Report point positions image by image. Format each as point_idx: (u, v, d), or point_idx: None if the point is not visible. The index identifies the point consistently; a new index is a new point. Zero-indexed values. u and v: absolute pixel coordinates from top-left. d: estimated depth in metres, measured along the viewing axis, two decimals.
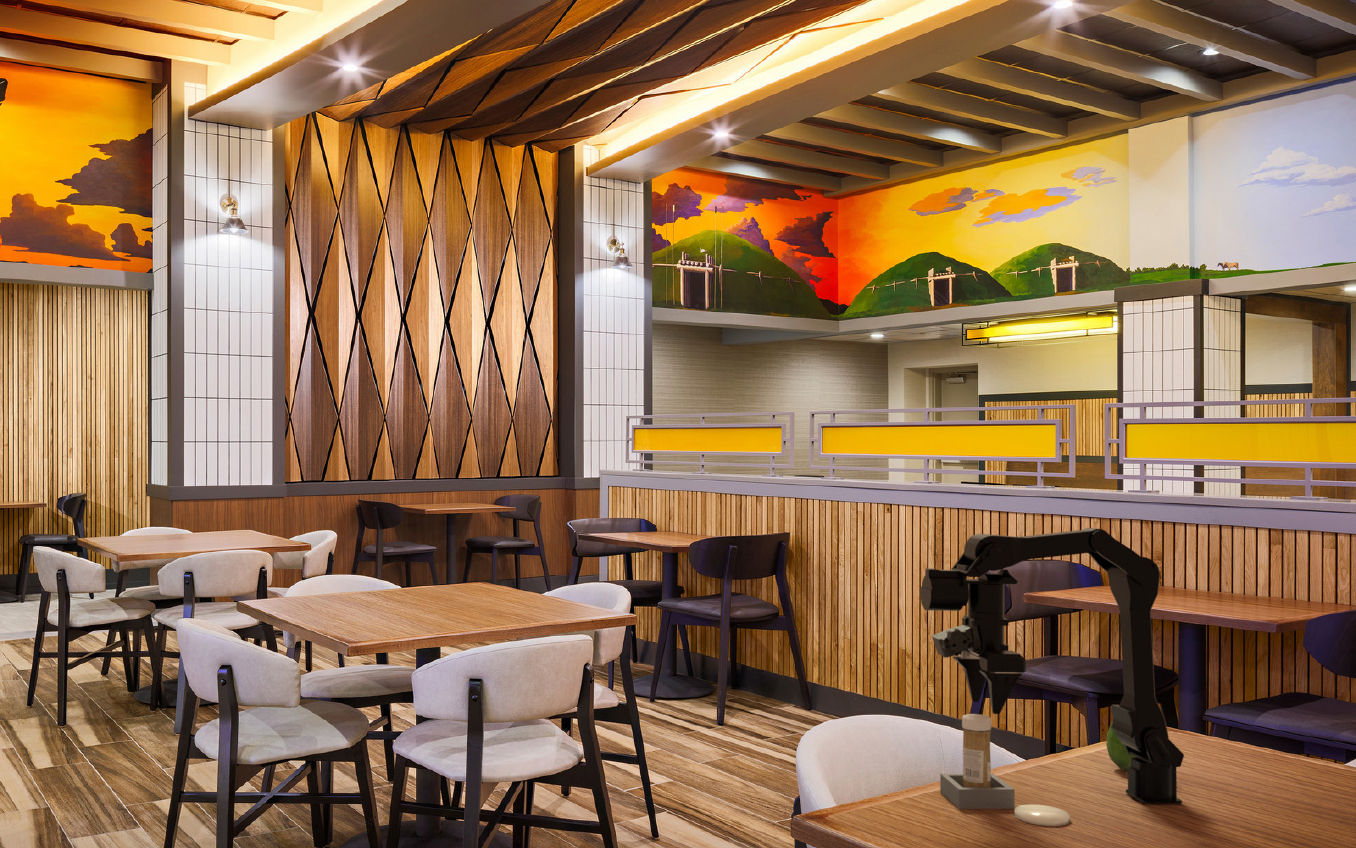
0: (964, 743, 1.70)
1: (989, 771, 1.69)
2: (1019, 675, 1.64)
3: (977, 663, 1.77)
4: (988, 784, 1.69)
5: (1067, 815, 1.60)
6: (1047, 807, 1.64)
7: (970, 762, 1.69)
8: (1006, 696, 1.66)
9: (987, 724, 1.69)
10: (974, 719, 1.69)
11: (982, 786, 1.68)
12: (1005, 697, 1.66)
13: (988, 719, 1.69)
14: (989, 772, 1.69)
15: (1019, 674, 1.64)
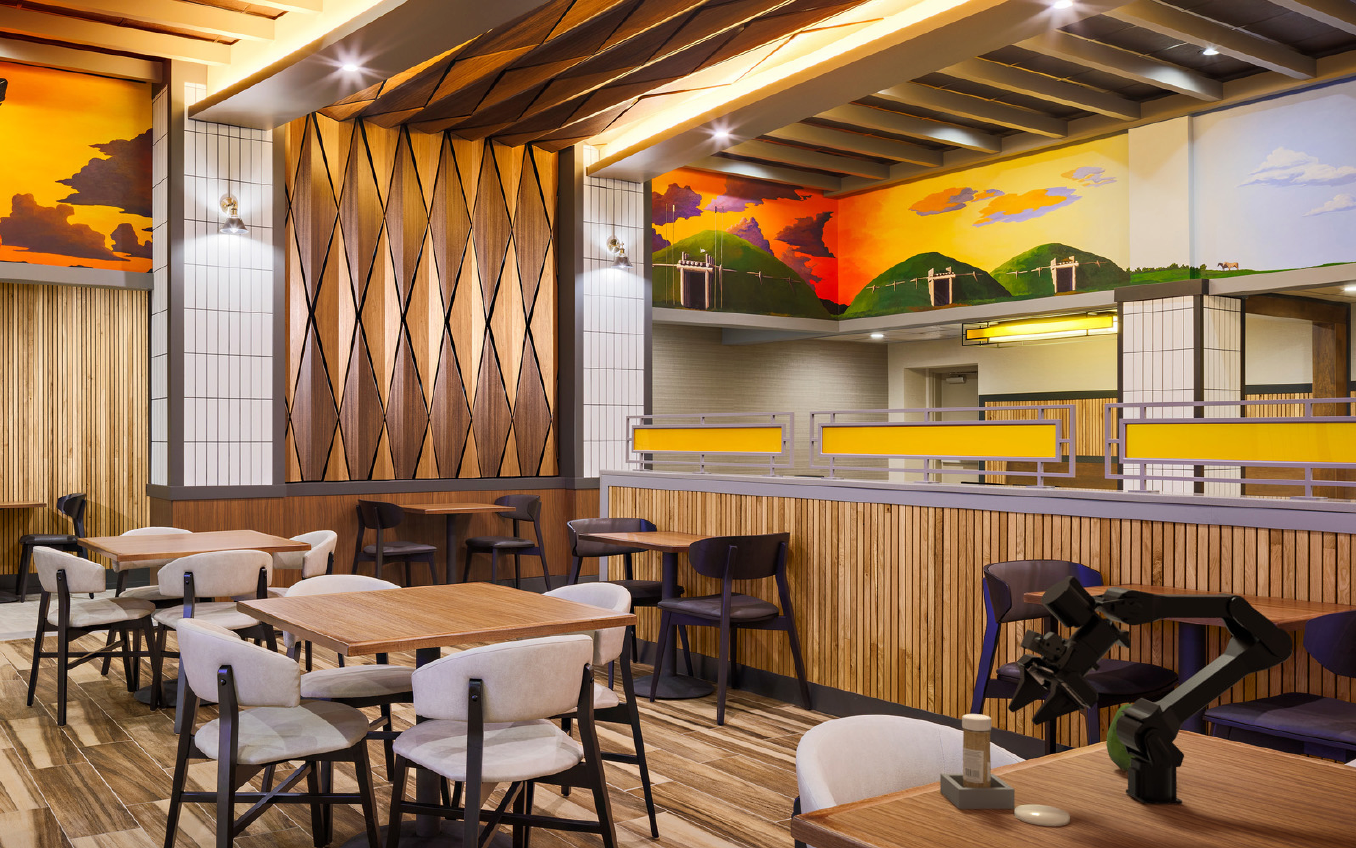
0: (964, 743, 1.70)
1: (989, 771, 1.69)
2: (1082, 707, 1.64)
3: (1036, 684, 1.77)
4: (988, 784, 1.69)
5: (1067, 815, 1.60)
6: (1047, 807, 1.64)
7: (970, 762, 1.69)
8: (1054, 716, 1.66)
9: (987, 724, 1.69)
10: (974, 719, 1.69)
11: (982, 786, 1.68)
12: (1053, 716, 1.66)
13: (988, 719, 1.69)
14: (989, 772, 1.69)
15: (1082, 707, 1.64)
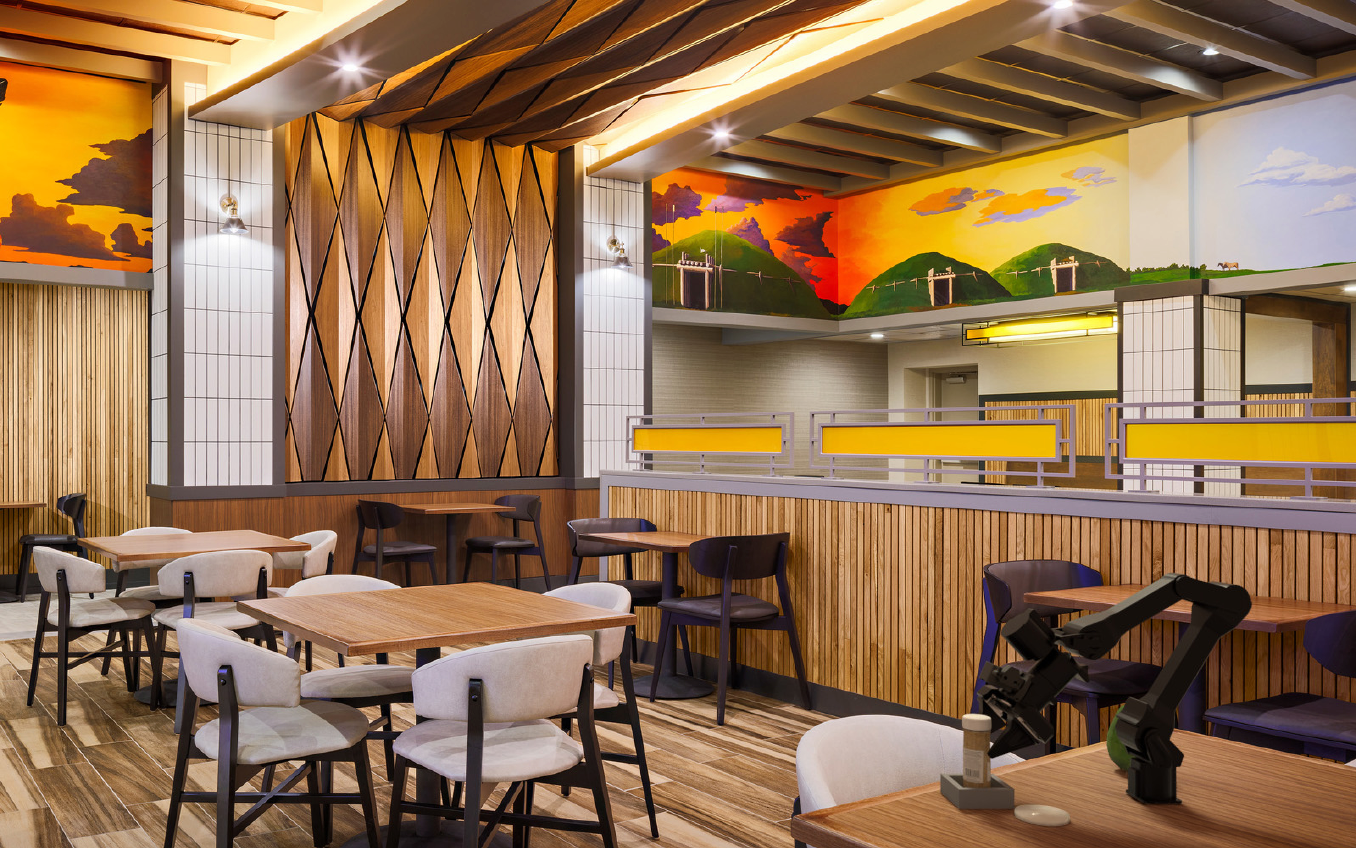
0: (964, 743, 1.70)
1: (989, 771, 1.69)
2: (1037, 742, 1.63)
3: (994, 716, 1.76)
4: (988, 784, 1.69)
5: (1067, 815, 1.60)
6: (1047, 807, 1.64)
7: (970, 762, 1.69)
8: (1009, 750, 1.65)
9: (987, 724, 1.69)
10: (974, 719, 1.69)
11: (982, 786, 1.68)
12: (1008, 750, 1.65)
13: (988, 719, 1.69)
14: (989, 772, 1.69)
15: (1038, 742, 1.63)
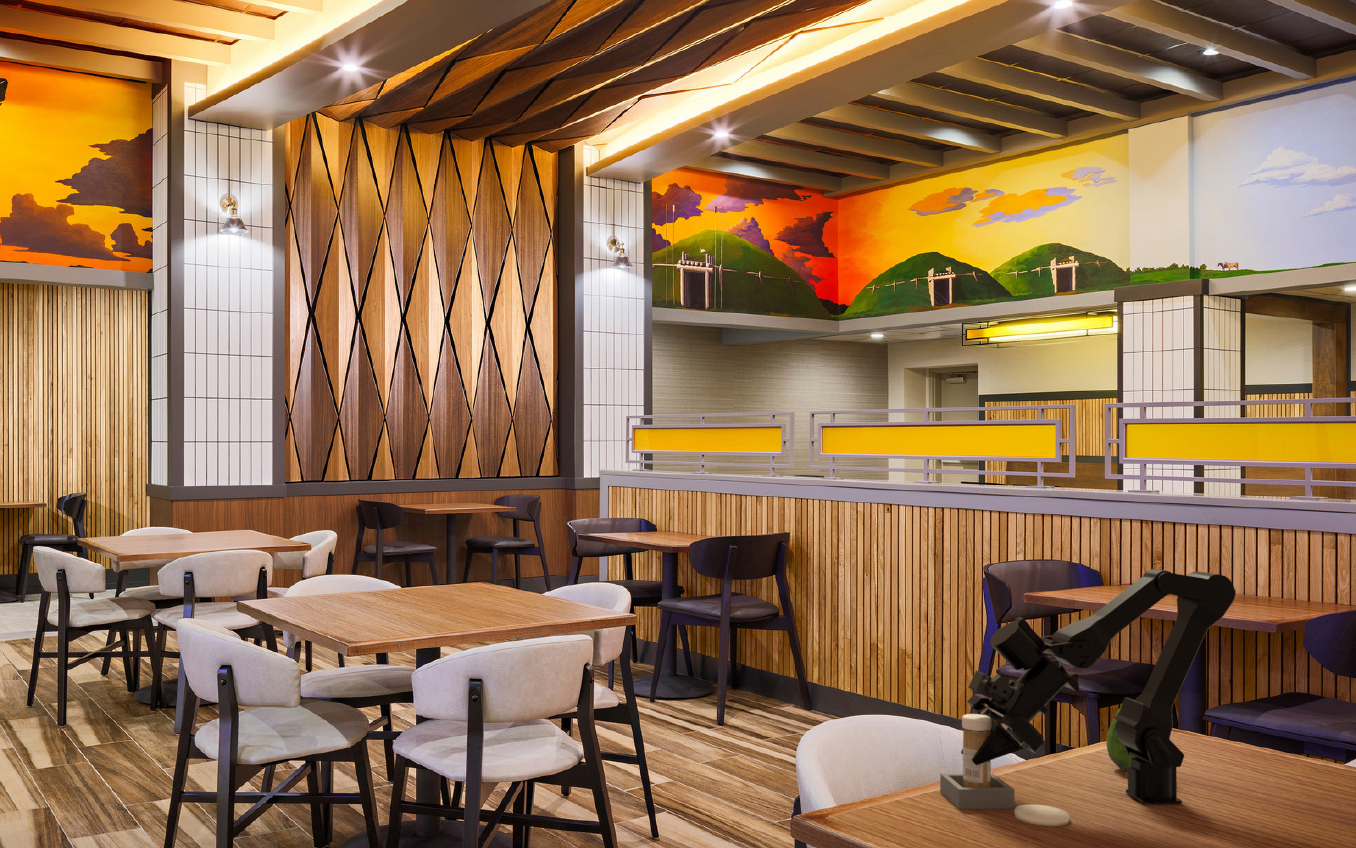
0: (964, 743, 1.70)
1: (989, 771, 1.69)
2: (1021, 748, 1.65)
3: (990, 729, 1.74)
4: (988, 784, 1.69)
5: (1067, 815, 1.60)
6: (1047, 807, 1.64)
7: (970, 762, 1.69)
8: (994, 756, 1.67)
9: (987, 724, 1.69)
10: (974, 719, 1.69)
11: (982, 786, 1.68)
12: (992, 757, 1.67)
13: (988, 719, 1.69)
14: (989, 772, 1.69)
15: (1022, 748, 1.65)
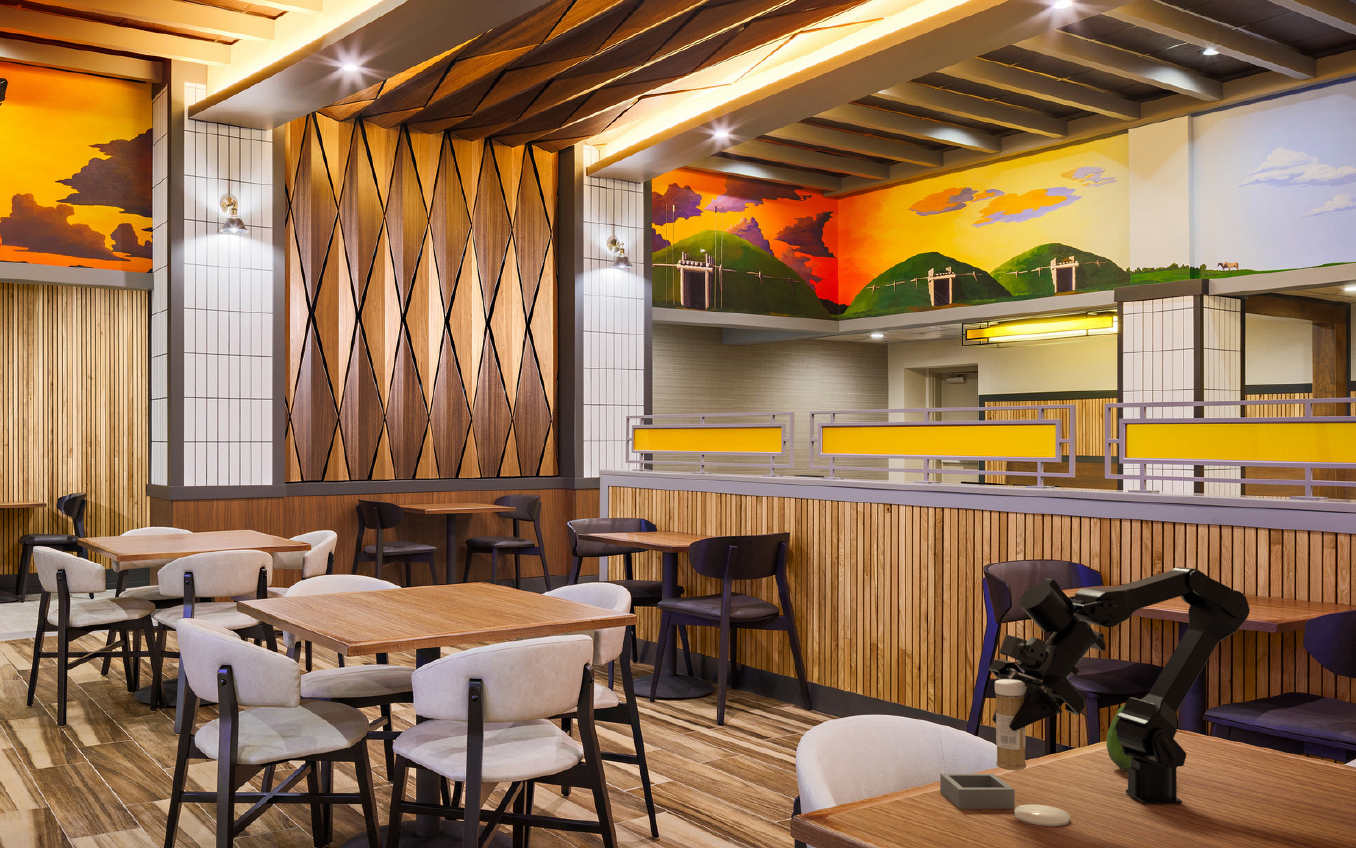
0: (998, 709, 1.66)
1: (1024, 736, 1.65)
2: (1060, 711, 1.62)
3: None
4: (1024, 750, 1.65)
5: (1067, 815, 1.60)
6: (1047, 807, 1.64)
7: (1007, 728, 1.64)
8: (1032, 721, 1.63)
9: (1022, 689, 1.65)
10: (1010, 684, 1.64)
11: (1019, 752, 1.64)
12: (1030, 721, 1.63)
13: (1023, 683, 1.65)
14: (1024, 737, 1.65)
15: (1060, 710, 1.62)
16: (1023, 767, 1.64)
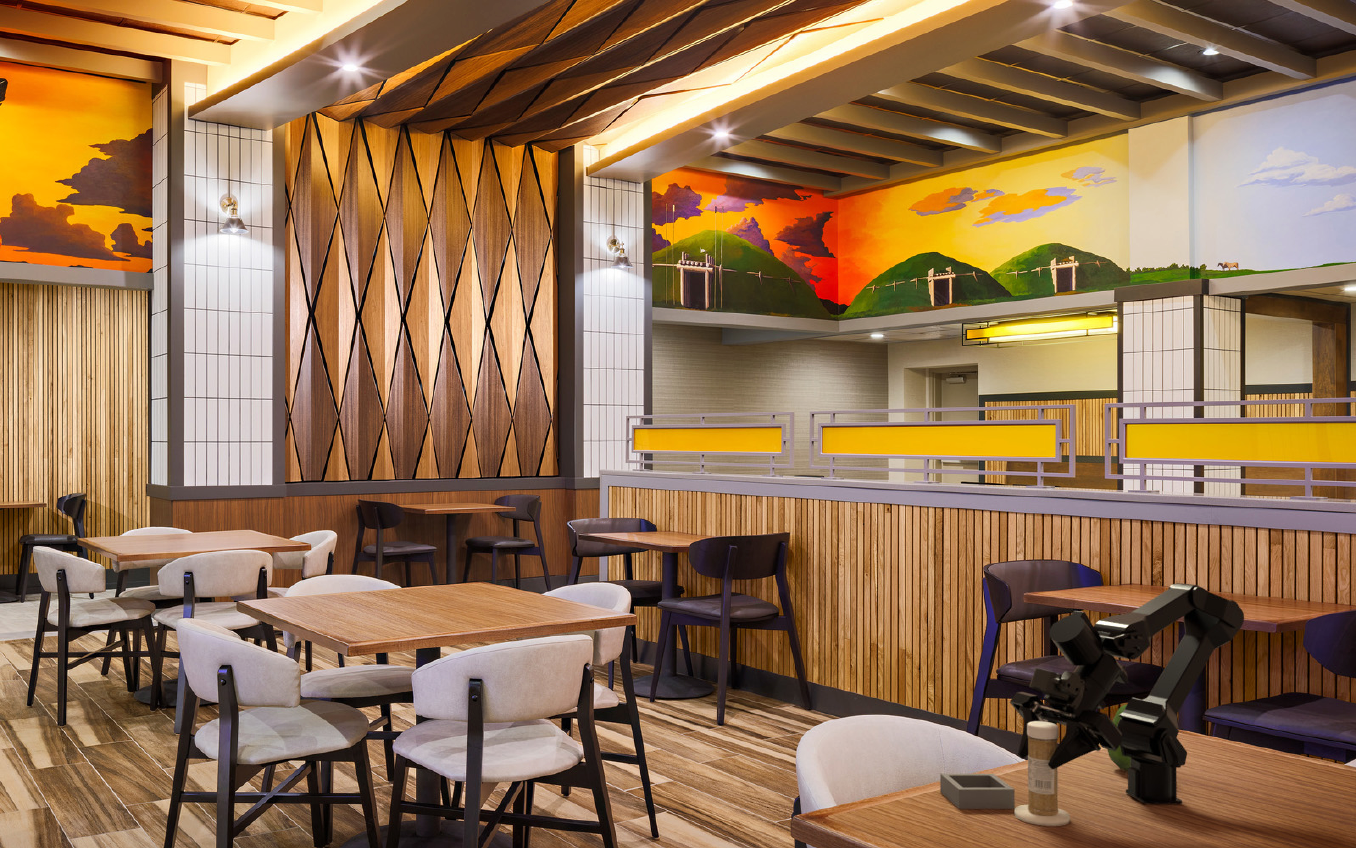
0: (1032, 753, 1.61)
1: (1057, 780, 1.61)
2: (1099, 748, 1.58)
3: None
4: None
5: (1067, 815, 1.60)
6: None
7: (1042, 772, 1.60)
8: (1070, 759, 1.59)
9: (1057, 732, 1.61)
10: (1045, 727, 1.60)
11: (1053, 797, 1.60)
12: (1069, 759, 1.59)
13: (1057, 726, 1.61)
14: (1057, 781, 1.61)
15: (1100, 748, 1.58)
16: (1057, 812, 1.60)
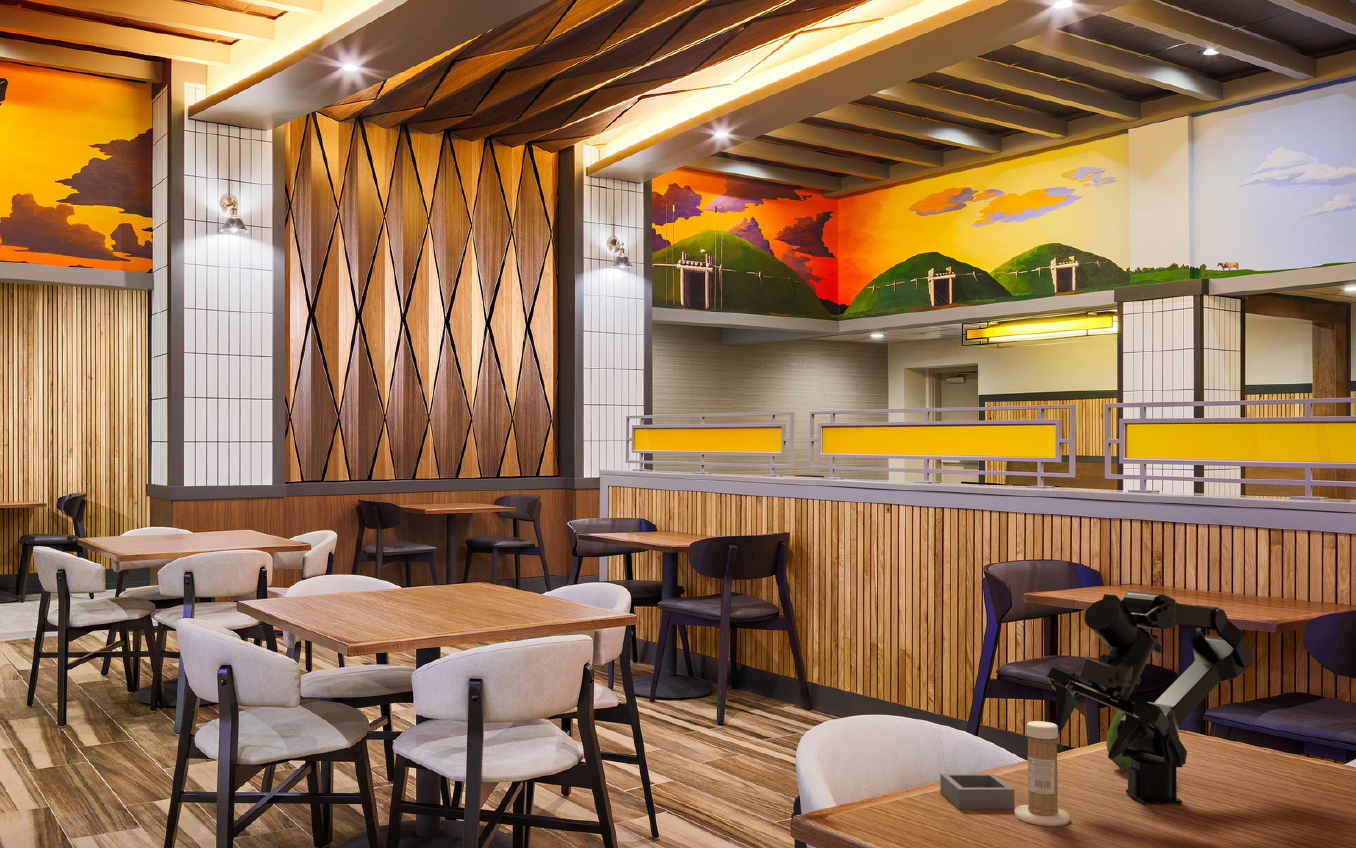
0: (1032, 753, 1.61)
1: (1057, 780, 1.61)
2: (1153, 736, 1.64)
3: (1071, 700, 1.72)
4: None
5: (1067, 815, 1.60)
6: None
7: (1042, 772, 1.60)
8: (1126, 747, 1.64)
9: (1056, 731, 1.61)
10: (1045, 727, 1.61)
11: (1053, 797, 1.60)
12: (1125, 748, 1.64)
13: (1056, 726, 1.62)
14: (1057, 781, 1.61)
15: (1153, 735, 1.64)
16: (1057, 812, 1.60)
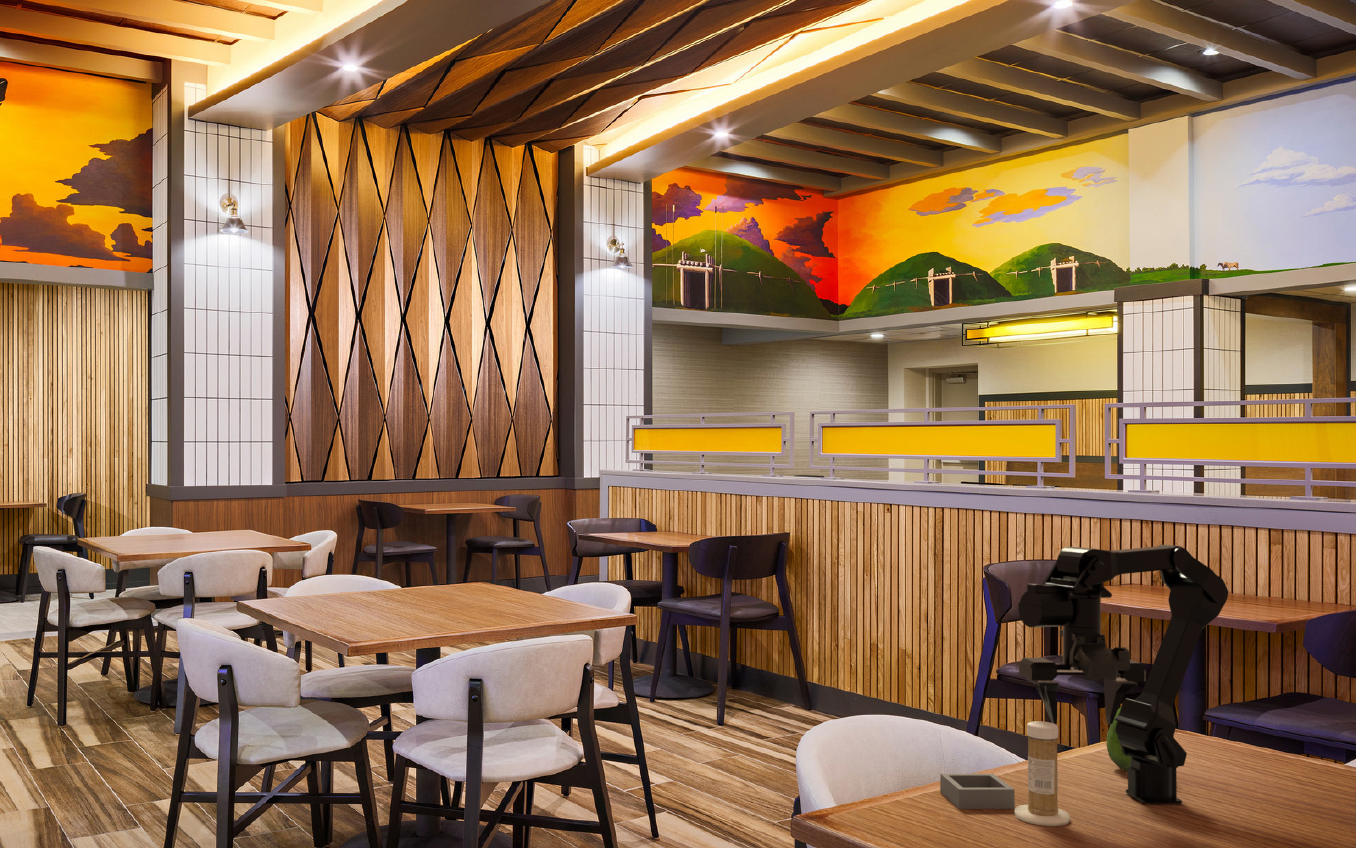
0: (1032, 753, 1.61)
1: (1057, 780, 1.61)
2: None
3: None
4: None
5: (1067, 815, 1.60)
6: None
7: (1042, 772, 1.60)
8: None
9: (1057, 731, 1.61)
10: (1045, 727, 1.61)
11: (1053, 797, 1.60)
12: None
13: (1057, 726, 1.62)
14: (1057, 781, 1.61)
15: None
16: (1057, 812, 1.60)
